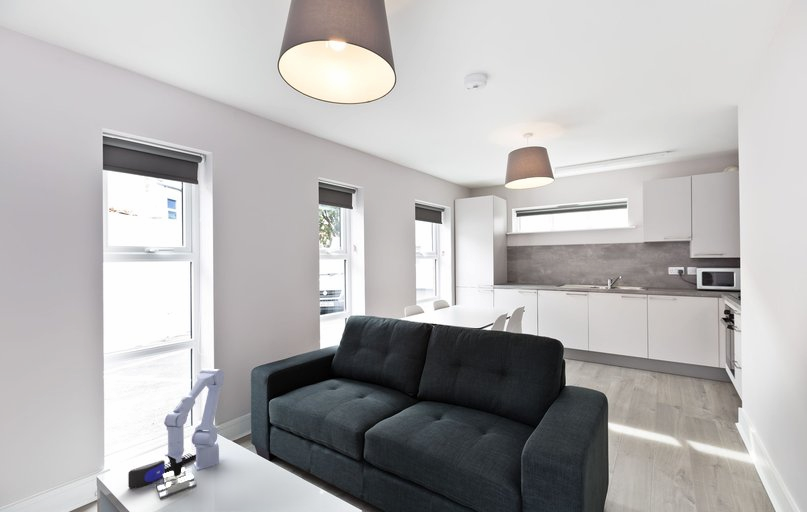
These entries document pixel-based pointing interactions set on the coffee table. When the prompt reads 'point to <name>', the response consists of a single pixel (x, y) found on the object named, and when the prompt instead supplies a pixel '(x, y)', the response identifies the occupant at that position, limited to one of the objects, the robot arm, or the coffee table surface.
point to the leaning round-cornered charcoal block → (146, 474)
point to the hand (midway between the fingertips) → (176, 472)
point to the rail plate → (175, 483)
